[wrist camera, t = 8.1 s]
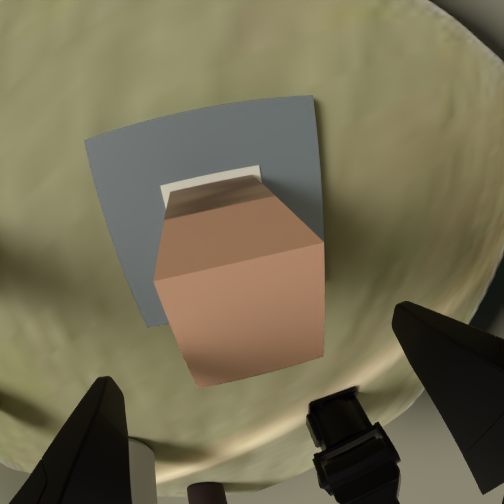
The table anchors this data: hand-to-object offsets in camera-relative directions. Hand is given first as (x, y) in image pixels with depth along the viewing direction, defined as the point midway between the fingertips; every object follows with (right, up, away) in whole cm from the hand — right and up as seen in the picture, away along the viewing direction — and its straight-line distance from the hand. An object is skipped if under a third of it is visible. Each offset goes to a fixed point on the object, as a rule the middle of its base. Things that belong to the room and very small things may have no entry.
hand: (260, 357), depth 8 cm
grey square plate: (-3, +5, +11) cm, 13 cm away
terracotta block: (-1, +3, +6) cm, 7 cm away
